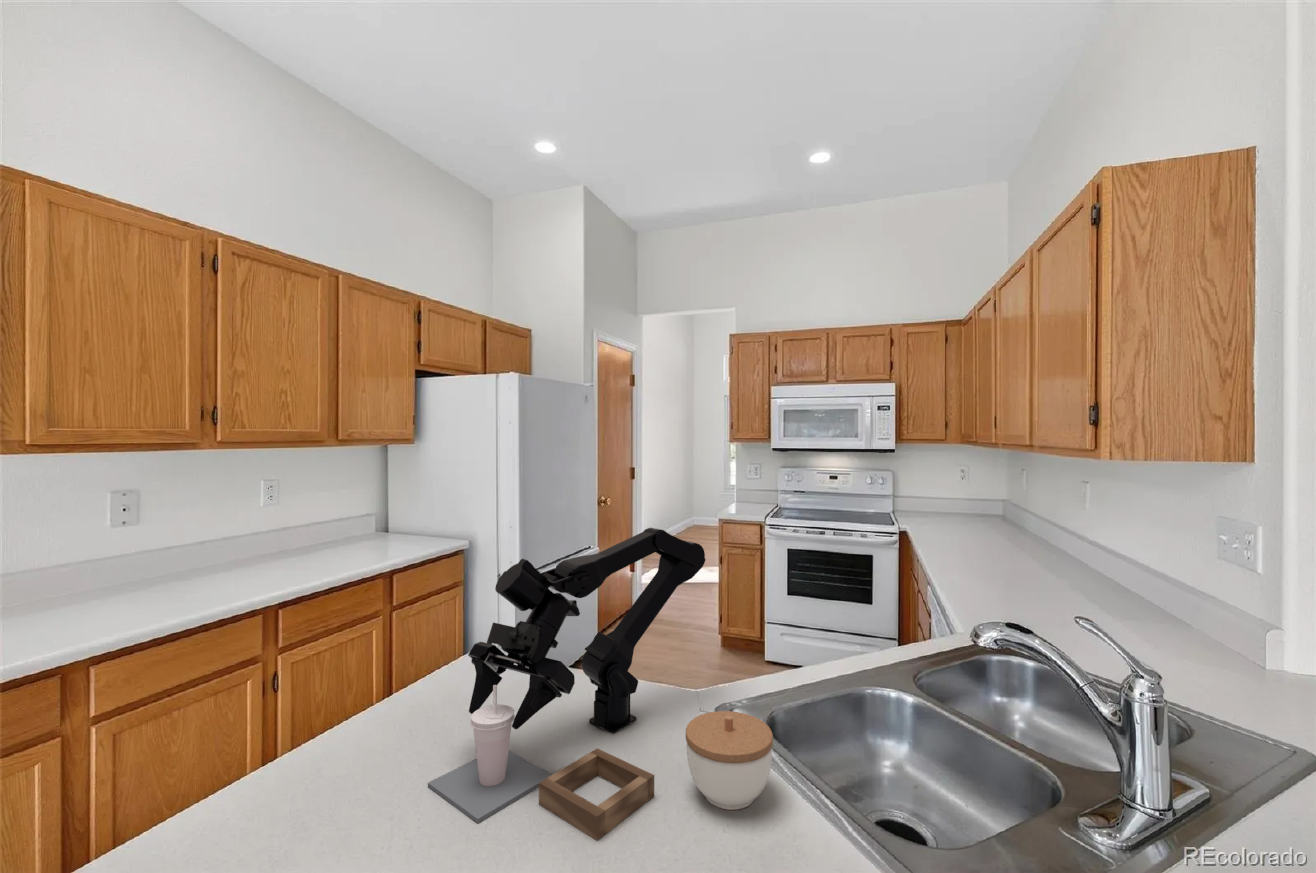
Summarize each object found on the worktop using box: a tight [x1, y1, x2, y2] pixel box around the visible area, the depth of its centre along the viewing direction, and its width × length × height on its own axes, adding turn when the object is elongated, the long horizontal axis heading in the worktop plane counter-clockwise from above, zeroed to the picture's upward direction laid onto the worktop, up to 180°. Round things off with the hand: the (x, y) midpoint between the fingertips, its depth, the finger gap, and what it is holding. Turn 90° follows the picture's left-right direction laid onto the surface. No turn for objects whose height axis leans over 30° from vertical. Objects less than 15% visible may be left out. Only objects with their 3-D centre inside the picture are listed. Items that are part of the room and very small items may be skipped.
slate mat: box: [427, 749, 554, 824], centre depth 83 cm, size 13×13×1 cm
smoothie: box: [470, 685, 516, 786], centre depth 83 cm, size 6×6×14 cm
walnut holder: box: [538, 748, 655, 841], centre depth 78 cm, size 12×12×3 cm
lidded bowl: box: [685, 710, 774, 811], centre depth 80 cm, size 13×13×11 cm
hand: (491, 720), depth 83 cm, fingers open, 9 cm apart
